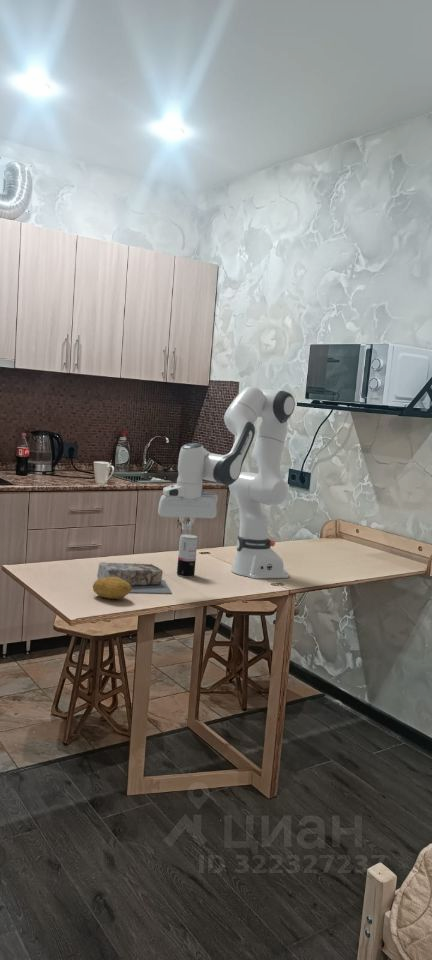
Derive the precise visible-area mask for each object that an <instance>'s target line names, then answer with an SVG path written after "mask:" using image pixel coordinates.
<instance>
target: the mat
mask: <svg viewBox="0 0 432 960" xmlns="http://www.w3.org/2000/svg"><path fill="white" fill-rule="evenodd" d="M129 594H147V595H148V594H153V595H154V594H157V595H158V594H159V595H163V594H164V595H172V594H173V592H172V590H171V589H170V587H169V585H168V583H167V582H166V580H165V579H162V581H161V584H152V585H135V586H131V591H130V592H129Z"/></svg>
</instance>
